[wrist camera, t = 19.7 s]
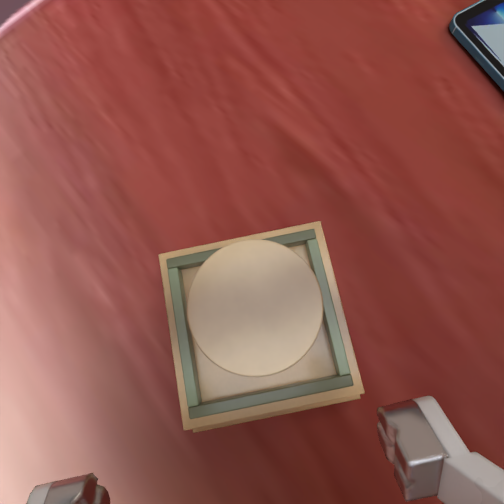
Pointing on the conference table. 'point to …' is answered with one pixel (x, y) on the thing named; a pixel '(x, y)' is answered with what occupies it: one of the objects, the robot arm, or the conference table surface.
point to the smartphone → (483, 35)
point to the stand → (269, 387)
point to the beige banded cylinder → (255, 308)
